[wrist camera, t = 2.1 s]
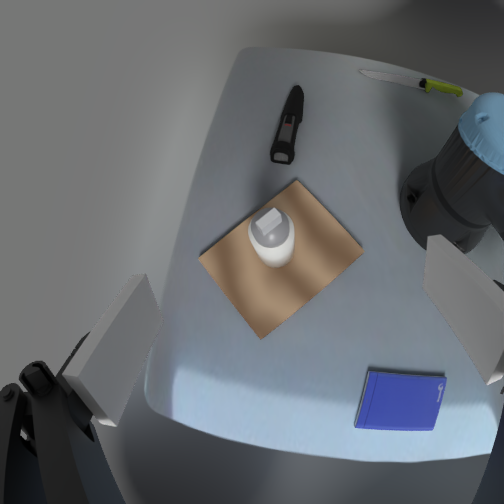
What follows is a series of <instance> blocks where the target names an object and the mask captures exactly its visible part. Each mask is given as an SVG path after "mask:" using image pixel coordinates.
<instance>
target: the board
mask: <svg viewBox="0 0 504 504" xmlns="http://www.w3.org/2000/svg"><path fill="white" fill-rule="evenodd" d="M274 207H275V208H277V209H279V210H281V211H283V212H285V213H286V214H287V215H288V216H289V217H290V218H291V220H292V222H293V224H294V239H295V252H294V256H293V258H292V259H291V261H290V262H289V263H288V264H286V265H285V266H283V267H279V268H272V267H269V266H267V265H265V264H264V263H263V262H262V261H261V260H260V258H259V257H258V255H257V253H256V251H255V249H254V247H253V245H252V243H251V241H250V238H249V235H248V227H249V224H250V222H251V220H252V218H253V217H254V215H255V214H256V213H257V212H258V211H260V210H262V209H264V208H274ZM258 211H256V212H255V213H254V214H253V215H251V216H250V217H249V218H247V219H246V220H245V221H244V222H242V223H241V224H240V225H239V226H237V227H236V228H235V229H234V230H232V231H231V232H230V233H229V234H227V235H226V236H225V237H224V238H222V239H221V240H220V241H219V242H217V243H216V244H215V245H214V246H213V247H211V248H210V249H209V250H208V251H206V252H205V253H204V254H203V255H201V256H200V257H199V258H198V259H199V260H200V262H201V263H202V264H203V266H204V267H205V268H206V270H207V271H208V272H209V274H210V275H211V276H212V278H213V279H214V280H215V282H216V283H217V284H218V286H219V287H220V288H221V290H222V291H223V292H224V294H225V295H226V296H227V297H228V299H229V300H230V301H231V303H232V304H233V305H234V307H235V308H236V309H237V310H238V312H239V313H240V314H241V316H242V317H243V318H244V319H245V321H246V322H247V323H248V324H249V326H250V327H251V328H252V329H253V331H254V332H255V333H256V334H257V336H258V337H259V338H260V339H262V338H264V337H265V336H266V335H268V334H269V333H270V332H271V331H273V330H274V329H275V328H276V327H278V326H279V325H280V324H281V323H283V322H284V321H285V320H286V319H288V318H289V317H290V316H291V315H292V314H294V313H295V312H296V311H297V310H299V309H300V308H301V307H302V306H303V305H305V304H306V303H307V302H308V301H309V300H310V299H312V298H313V297H314V296H315V295H316V294H318V293H319V292H320V291H321V290H322V289H323V288H325V287H326V286H327V285H328V284H329V283H330V282H331V281H333V280H334V279H335V278H336V277H337V276H338V275H339V274H341V273H342V272H343V271H344V270H345V269H346V268H347V267H348V266H349V265H351V264H352V263H353V262H354V261H355V260H356V259H357V258H358V257H359V256H360V255H362V254H363V253H364V250H363V249H362V248H361V247H360V245H359V244H358V243H357V242H356V241H355V240H354V239H353V238H352V237H351V235H350V234H349V233H348V232H347V231H346V230H345V229H344V228H343V227H342V226H341V225H340V224H339V222H338V221H337V220H336V219H335V218H334V217H333V216H332V215H331V214H330V213H329V212H328V211H327V210H326V209H325V208H324V207H323V206H322V205H321V204H320V203H319V202H318V200H317V199H316V198H315V197H314V196H313V195H312V194H311V193H310V192H309V191H308V190H307V189H306V188H305V187H304V186H303V185H302V184H301V183H300V182H299V181H298V180H296V181H295V182H294V183H292V184H291V185H290V186H288V187H287V188H286V189H284V190H283V191H282V192H281V193H279V194H278V195H277V196H275V197H274V198H273V199H272V200H270V201H269V202H268V203H266V204H265V205H264V206H263V207H261V208H260V209H259V210H258Z"/></svg>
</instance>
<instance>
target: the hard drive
mask: <svg viewBox="0 0 504 504" xmlns="http://www.w3.org/2000/svg"><path fill="white" fill-rule="evenodd" d="M446 382H447V377H441V376H423V375H408V374H396V373H385V372H375V371H368V375H367V379H366V383H365V388H364V392H363V396H362V400H361V403H360V407H359V411H358V414H357V418H356V421H355V425H354V427H355V428H363V429H377V430H401V431H404V430H405V431H429V430H433V429H434V426H435V423H436V420H437V416H438V413H439V409H440V406H441V402H442V398H443V394H444V390H445V386H446Z"/></svg>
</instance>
